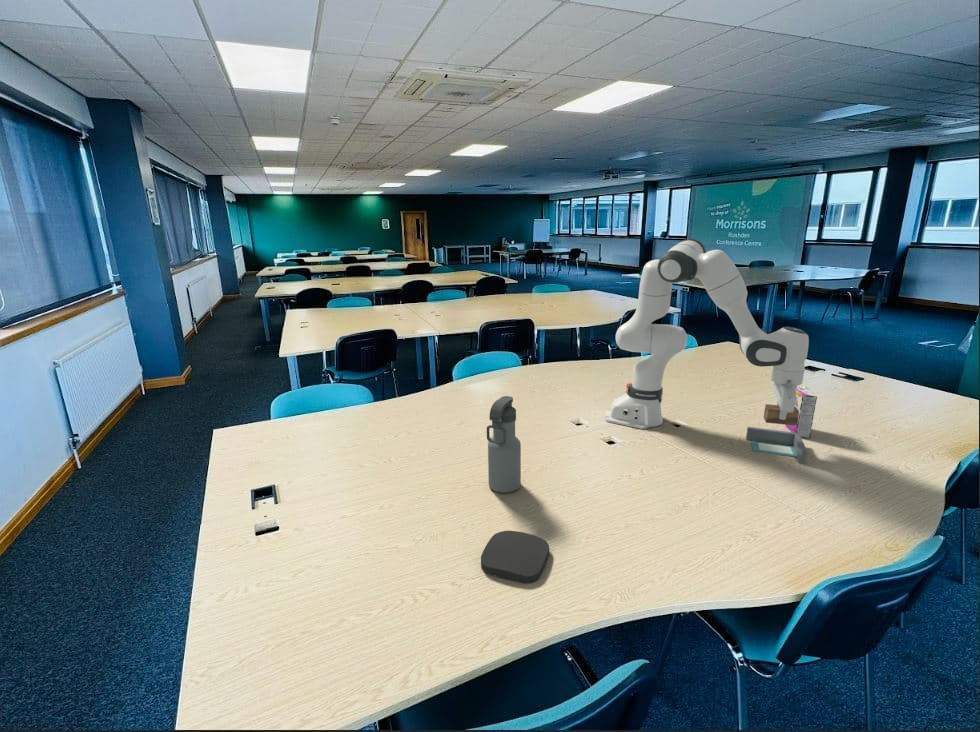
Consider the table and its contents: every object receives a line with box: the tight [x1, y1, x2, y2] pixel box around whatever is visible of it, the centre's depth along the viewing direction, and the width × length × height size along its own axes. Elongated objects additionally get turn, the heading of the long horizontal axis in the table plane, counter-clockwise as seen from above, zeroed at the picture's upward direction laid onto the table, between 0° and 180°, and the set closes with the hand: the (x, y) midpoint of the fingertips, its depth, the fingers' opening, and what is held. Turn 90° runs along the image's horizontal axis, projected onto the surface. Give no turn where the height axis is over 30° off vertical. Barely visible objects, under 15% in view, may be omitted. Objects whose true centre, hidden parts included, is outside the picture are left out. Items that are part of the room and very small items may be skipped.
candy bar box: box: [785, 385, 818, 439], centre depth 179 cm, size 11×5×16 cm, turn 168°
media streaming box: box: [480, 530, 550, 584], centre depth 116 cm, size 15×15×3 cm
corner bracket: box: [745, 426, 808, 465], centre depth 167 cm, size 16×15×4 cm
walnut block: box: [763, 403, 799, 426], centre depth 163 cm, size 4×9×5 cm, turn 73°
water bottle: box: [486, 395, 522, 494], centre depth 144 cm, size 10×10×28 cm
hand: (780, 415), depth 163 cm, fingers closed on walnut block, 5 cm apart
